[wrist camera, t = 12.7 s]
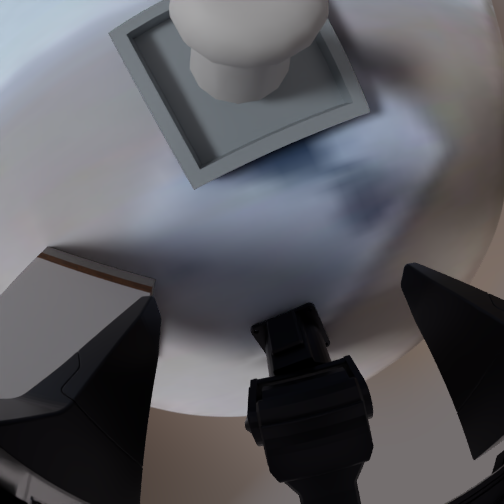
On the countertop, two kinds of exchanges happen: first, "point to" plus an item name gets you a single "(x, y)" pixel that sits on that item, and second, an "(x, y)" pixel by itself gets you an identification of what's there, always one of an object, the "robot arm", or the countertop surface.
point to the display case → (58, 314)
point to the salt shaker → (245, 42)
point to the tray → (231, 114)
